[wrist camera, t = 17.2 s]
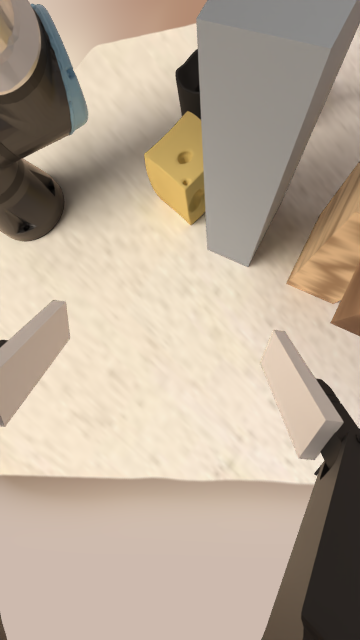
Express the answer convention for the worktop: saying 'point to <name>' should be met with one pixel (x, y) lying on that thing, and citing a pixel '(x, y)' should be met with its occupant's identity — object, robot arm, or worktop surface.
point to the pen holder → (189, 85)
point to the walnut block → (350, 306)
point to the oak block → (332, 245)
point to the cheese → (179, 168)
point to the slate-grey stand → (262, 105)
